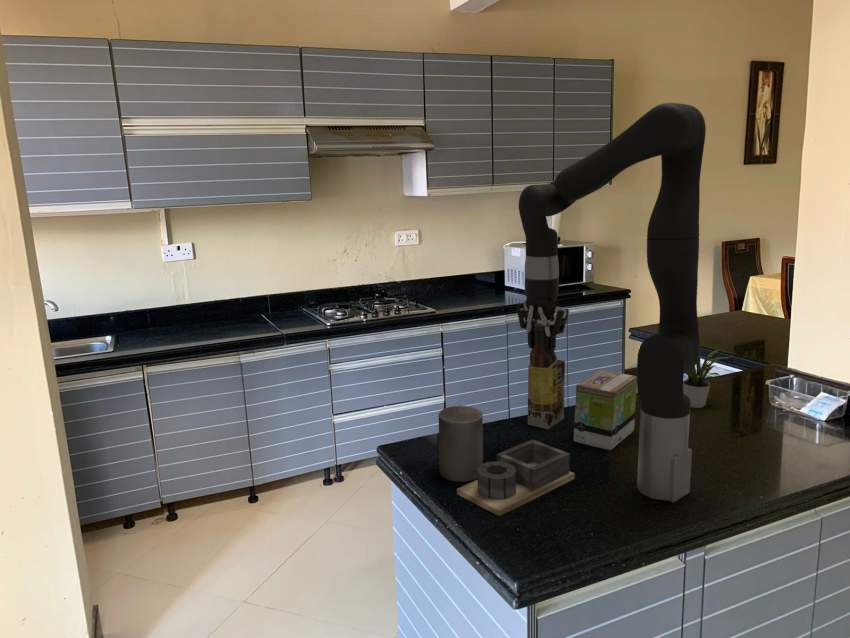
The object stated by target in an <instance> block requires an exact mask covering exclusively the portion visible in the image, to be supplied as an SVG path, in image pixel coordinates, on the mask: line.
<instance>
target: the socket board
mask: <svg viewBox="0 0 850 638" xmlns="http://www.w3.org/2000/svg"><path fill="white" fill-rule="evenodd" d="M570 459H571V453H569V452H567V451H564V450H561V449H559V448H556V447H553V446H551V445H548V444H545V443H543V442H540V441H538V440H535V439H530V440H528V441H525V442H522V443H520V444H518V445H515V446H513V447H511V448H508V449H506V450H504V451H500V452H498V453H496V461H486V462H483V464H482V465H479V467H478V478H477V479H475V480H472V481H471V482H469V483H466V484H465V485H462V486H460V487H458V488H456V495H458V496H460V497H461V498H464V499H465V500H466V501H469V502H471V503H473V504H475V505H476V506H479V507H480V508H483V509H484V510H486V511H488V512H490V513H491V514H494V515H496V516H497V517H501V516H503V515H505V514H507V513H509V512H511V511H514V510H515V509H517V508H519V507H521V506H523V505H525V504H527V503H529V502H531V501H533V500H535V499H537V498H539V497H541V496H543V495H545V494H547V493H549V492H551V491H552V490H555V489H557V488H559V487H561V486H563V485H565V484H567V483H569V482H570V481H572V480H573V481H574V480H575V478H576V477H575V476H576V474H575V472H572V471H570V468H571V467H570V465H571V464H570V463H571V461H570Z"/></svg>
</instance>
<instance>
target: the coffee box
mask: <svg viewBox="0 0 850 638" xmlns="http://www.w3.org/2000/svg"><path fill="white" fill-rule="evenodd" d="M527 369H528V372H527V374H528V376H527V425H529V426H533V427H537V428H541V429H544V430H550V429H551V428H553V427H554V426H555V425H557V424H559V423H560V422H561V421H563V420H564V419H565V381H566V380H565V377H566V376H565V370H566V360H561V359H557V402H556V403H557V407H556V409H554V410H552V411H545V412H541V411H536V410H534V409H532V408H531V401H530V364H529V365H528V368H527Z"/></svg>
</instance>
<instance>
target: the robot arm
mask: <svg viewBox="0 0 850 638" xmlns="http://www.w3.org/2000/svg"><path fill="white" fill-rule="evenodd" d="M706 126H707V125H706V121H705V118H704V115H703V114H702V111H700V110H699V109H698V108H697V107H695V105H694V106H693V105H690V104H686V103H679V102H678V103H677V102H664V103H660V104H658V105H655V106H654V107H652V108H651V109H650V110H648V111H647V112H646V113H645V114H643V115H642V116H641V117H639V118H638V119H637V120H636V121H635V122H634V123H632V124H631V125H630V126H629V127H628V128H626V129H625V130H624V131H623V132H621V133H620V134H618V135H617V136H616V137H615V138H613V139H612V140H610V141H609V142H607V143H606V144H605V145H603V146H602V147H600V148H598V149H597V150H595V151H594V152H592V153H589V154H588V155H587V156H585V157H583V158H582V159H580V160H578V161H576V162H575V163H573V164H570V165H569V166H567V167H566V168H564V169H562V170H561V171H560V172H559V173H558V174H557V175H556V177H555V180H553V181H551V182H549V183H544V184H542V183H541V184H530V185H527V186H526V187H524V188H523V189H522V191H521V192H520V195H519V198H518V214H519V216H520V221H521V225H522V229H523V233H524V235H525V261H524V295H525V297H526V299H525V301H523V302H518V303H516V304H515V309H516V313H517V317H518V321H519V323H518V324H519V326H520V329H522V330H525V331H526V332H527V345H528V348H529V349H531V350H532V349H533V347H534V345H535V342H534V341H535V332H534V324H538V323H542V325H543V327H545V331H546V335H547V336H546V351H547V352H553V351H555V350H556V347H557V346H556V345H557V343H556V341H557V339H556V338H557V335H561V334H564V331H565V327H566V324H567V320H568V316H569V313H570V311H569V309H568V308H562V307H560V306H559V303H558V300H557V299H558V296H559V294H560V293H559V290H560V289H559V287H560V286H559V285H560V284H559V283H560V279H559V277H560V269H559V268H560V265H559V264H560V263H559V256H558V255H559V246H558V245H559V243H558V242H559V237H558V232H557V231H556V230H555V229H554V228H551V227H549V224H548V220H547V217H553V216H556V215H558V214H560V213H562V212H564V211H565V210H567V209H568V208H569V207H571V206H572V205H573V204H574V203H575V202H577V201H579V200H581V199H583V198H585V197H587V196H589V195H590V194H593V193H595V192H597V191H599V190H600V189H602V188H603V187H605V186H606V185H608V184H610V182H611V181H612V180H614V178H616V177H618V175H620V173H622V172H623V171H625V170H626V169H628V168H630V167H632V166H634V165H636V164H638V163H641V162H644V161H646V160H648V159H652V158H655V157H659V156H661V157H660V158H661V159H660V160H661V179H660V180H661V181H660V187H659V191H658V195H657V197H656V201H655V203H654V206H653V208H652V211H651V214H650V218H649V219H648V220H649V221H648V224H647V231H646V261H647V268H648V272H649V275H650V278H651V281H652V283H653V285H654V288H655V292H656V294H657V296H658V302H659V321H658V330H657V331H658V332H657V333H653V334H651V335H649V336H647V337H646V338H645V339H644V340H643V341H642V342H641V343H640V345H639V348H638V352H637V356H636V357H637V358H636V359H637V360H636V376H637V390H636V393H637V395H638V398H639V401H640V413H639V414H640V415H639V433H638V434H639V435H638V452H637V453H638V455H637V476H636V479H637V480H636V488H637V490H638V492H639V493H641V494H642V495H644V496H646V497H647V498H650V499H654V500H658V501H659V500H660V501H667V502H668V501H669V502H670V503H675V502H677V501H679V500H680V499H682V498H683V497H685V496H686V495H688V494H690V487H691V475H692V474H691V473H692V457H693V449H692V448H690V447H689V436H690V435H689V434H690V433H689V431H690V421H691V417H690V416H691V408H692V407H691V402H690V399H689V397H688V396H686V395H685V394H684V391H683V381H684V376H685V373H687V372H688V371H690V370H691V369H693V368H694V367H695V368H696V364H697V362H698V360H699V356H700V357H701V342H700V331H699V321H698V319H699V318H698V305H697V304H698V283H699V282H698V281H699V279H698V278H699V277H698V276H699V260H700V259H699V257H700V255H699V254H700V253H699V251H700V198H701V197H700V193H701V192H700V189H701V186H700V183H701V172H702V165H703V164H702V163H703V157H704V149H705V148H704V147H705V142H706V130H707V128H706ZM550 326H551V329H550Z"/></svg>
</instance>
